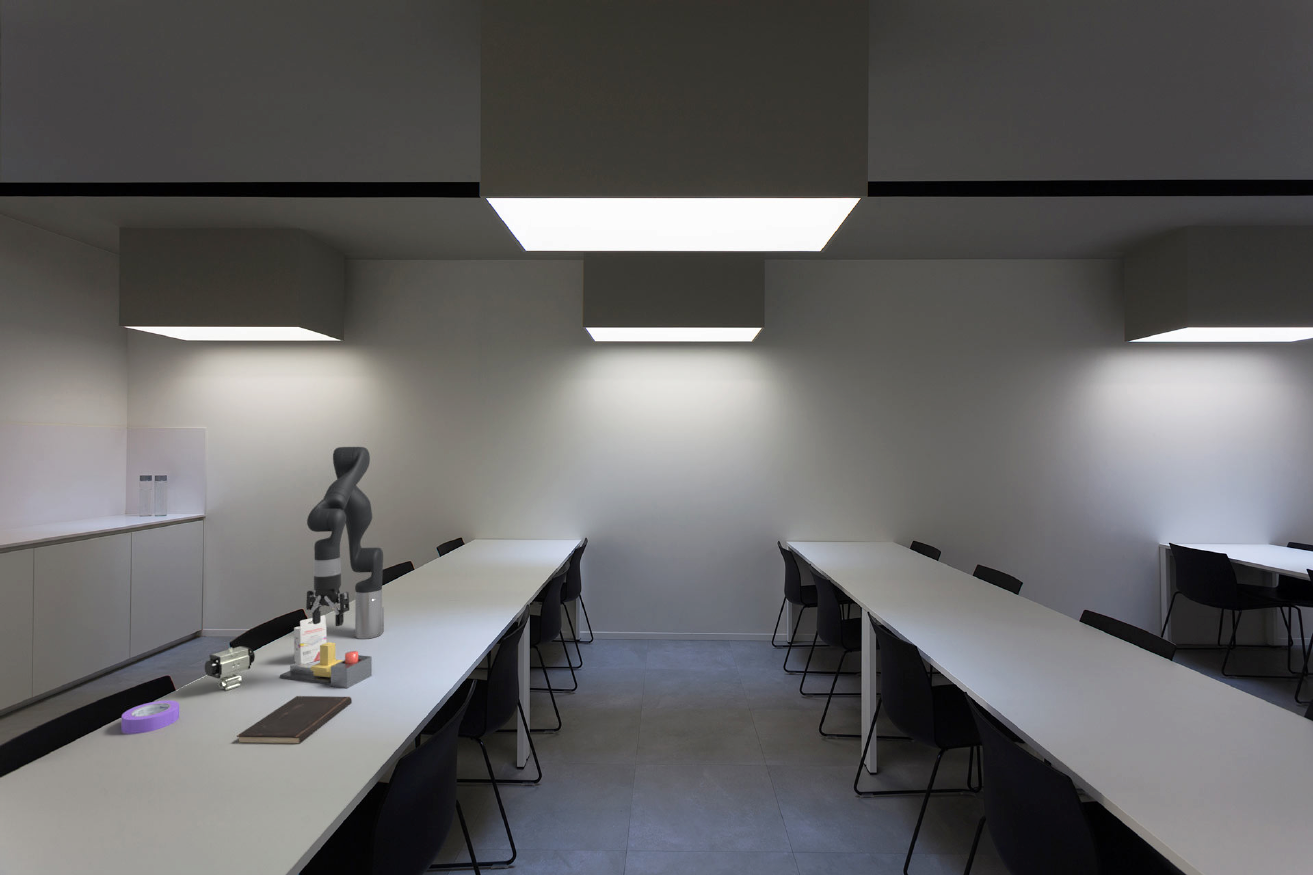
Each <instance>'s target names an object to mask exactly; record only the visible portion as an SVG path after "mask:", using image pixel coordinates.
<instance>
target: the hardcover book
mask: <svg viewBox="0 0 1313 875" xmlns="http://www.w3.org/2000/svg"><path fill="white" fill-rule="evenodd" d="M352 703H353V700H352V697H351V696H330V695H329V696H319V695H317V696H315V695H313V696H312V695H311V696H310V695H296V696H295V697H293V698H292V699H290V700H289V701H287V702H286V703H285V704H283V705H281V706H280V707H278V708H277V709H275V710H273V711H272V712H270V713H269V714H268V715H266V716H264V717H263V718H261V719H260V720H258V721H257V722H256V723H254V724H253V725H251V726H249V727H248V728H246V729H245V730H244V731H242V732H240V733H239V734H237V735H236V738H238V743H259V744H260V743H261V744H262V743H264V744H267V743H269V744H270V743H271V744H272V743H273V744H301V743H303V742H304V741H305V740H307V739H308V738H309V737H310V736H312V735H314V733H315V732H317V731H318V730H319V729H321V728H322V727H324V726H325V725H326V724H328V722H329V721H331V720H332V719H333V718H335V717H336V716H337V715H338V714H340V713H341V712H342V711H343V710H345V709H346V708H347V707H348V706H349V705H351V704H352Z"/></svg>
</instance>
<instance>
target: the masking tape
mask: <svg viewBox="0 0 1313 875" xmlns="http://www.w3.org/2000/svg"><path fill="white" fill-rule="evenodd" d="M179 718H180V703H179V702H178V701H177V700H171V699H170V700H169V699H168V700H167V699H166V700H158V701H152V702H151V701H150V702H148V703H143V704H140V705H137V706H134V707H132V708H130V709H128V710H126V711H125V712H123V713H122V714H121V732H122V734H128V735H136V734H143V733H151V732H153V731H157V730H160V729H164V728H166V727H167V726H168V727H169V726H170V725H172V724H174V723H176V722H177V721H178V720H179Z"/></svg>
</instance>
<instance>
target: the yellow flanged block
mask: <svg viewBox="0 0 1313 875" xmlns="http://www.w3.org/2000/svg"><path fill="white" fill-rule="evenodd" d="M336 658H337V656H336V642H329V641H328V642H327V643H325V644H322V645H320V660H319V662H318V663H316V664H312V665H313V666H311V671H314V676H322V677H331V666H332V665H335V664H337V663H339V662H341V661H343V660H344V659H336Z"/></svg>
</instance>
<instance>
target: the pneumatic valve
mask: <svg viewBox="0 0 1313 875" xmlns="http://www.w3.org/2000/svg"><path fill="white" fill-rule="evenodd" d="M255 658H256V656H255V651H254V650H253V648H250V647H247V646H242V645H241V646H237V647H234V648H233V647H228V648H227V649H226V650H223V651H220V652H216V653H212V654H209V658H208V660H206V661H205V663H204V672H205V674H206V675H207V676H209V677H210V678H211V677H212V678H215V679H220V681H219V683H218V687H219V689H221V690H225V691H230V690H234V689H237V688H239V687H240V686H241V683H242V682H243V680H242V679H243V678H242V676H241V675H240V674H239V673H241V672H244V671H246V670H250V669H251V666H252V663H254V662H255V660H256V659H255ZM238 674H239V675H238Z"/></svg>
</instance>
